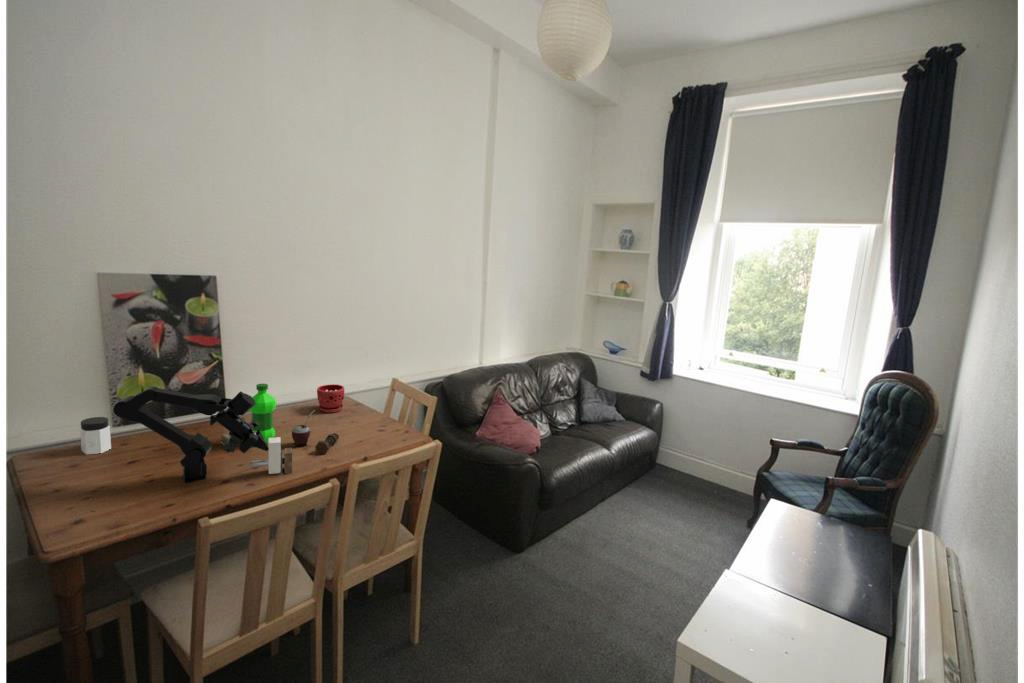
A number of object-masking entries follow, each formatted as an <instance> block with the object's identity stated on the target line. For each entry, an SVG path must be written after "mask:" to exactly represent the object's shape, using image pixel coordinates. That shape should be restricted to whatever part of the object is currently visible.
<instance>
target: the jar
mask: <svg viewBox="0 0 1024 683" xmlns="http://www.w3.org/2000/svg"><path fill="white" fill-rule="evenodd" d="M79 431H80V445H81V447H80V448H81V452H82V453H84V455H88V456H89V455H98V454H99V453H101V454H103V453H106V452H107V451H109V449H110V450H111V449H112V441H111V440H112V439H111V426H110V425H109V418H107V417H105V416H93V417H89V418H86V419H82V420H81V421H80V428H79Z"/></svg>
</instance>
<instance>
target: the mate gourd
mask: <svg viewBox="0 0 1024 683" xmlns="http://www.w3.org/2000/svg"><path fill="white" fill-rule="evenodd" d="M315 411H316V410H315V409H314V410H313V411H311V412H310V413H309V414H308V416H307V420H306V421H305V423H304V424H298V425H296V426H294V427H293V428H292V431H291V437H292V440H293V444H294V445H295V446H294V448H296V447H297V448H299V447H308V441H309V438H310V435H311V433H310V432H311V431H310V428H309V427H308V426H307V424H308V422H309V419H310V417H311V415H312V414H313V413H315ZM301 445H302V446H301Z"/></svg>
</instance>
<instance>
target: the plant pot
mask: <svg viewBox="0 0 1024 683" xmlns="http://www.w3.org/2000/svg"><path fill="white" fill-rule="evenodd" d="M316 393H317V395H316V396H317V401H318V403H319V407H318V408H319V410H320V411H321V412H324V413H337V412H340V411H342V409H343V408H344V405H343V402H344V398H345V387H344V386H343V385H341V384H325V385H320V386H318V387H317V389H316Z"/></svg>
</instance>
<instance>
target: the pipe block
mask: <svg viewBox="0 0 1024 683" xmlns="http://www.w3.org/2000/svg"><path fill="white" fill-rule="evenodd" d="M283 454H284V457H283V458H285V464H283V465H284V467H283V468H284V470H283V468H282V471H281V473H276V475H277V474H278V475H283V473H284V474H286V473H288V474H293V449H292V447H287V448H284V453H283ZM283 471H284V472H283Z"/></svg>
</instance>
